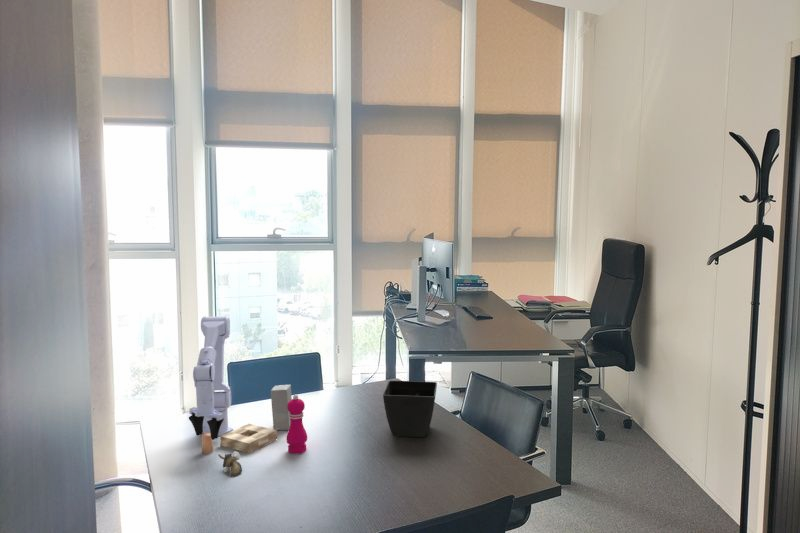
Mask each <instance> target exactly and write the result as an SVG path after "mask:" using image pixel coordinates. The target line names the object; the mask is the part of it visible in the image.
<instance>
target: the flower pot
mask: <svg viewBox="0 0 800 533" xmlns="http://www.w3.org/2000/svg"><path fill="white" fill-rule="evenodd" d="M437 386H438V383H437V382H436V381H420V380H418V381H415V380H413V381H411V380H389V381H388V382H387V384H386V387H385V389H384V391H383V394H382V398H383V404H384V410H385V416H386V420H387V424H388V427H389V430H390V433H391V435H392V436H393V437H404V438H407V437H409V438H427V436H428V433H429V430H430V427H431V423H432V418H433V414H434V408H435V402H436V401H435V400H436V394H437Z"/></svg>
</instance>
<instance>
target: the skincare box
mask: <svg viewBox="0 0 800 533" xmlns="http://www.w3.org/2000/svg"><path fill="white" fill-rule="evenodd" d="M292 399H293V396H292V385H291V384H277V385H274V386H273V387H272V388H271V390H270V400H271V401H270V402H271V412H272V426H273V430H277V431H279V430H280V431H289V428H290V422H291V421H290V418H289V413H290V412H289V411H288V409H287V405H288V402H289V401H290V400H292Z"/></svg>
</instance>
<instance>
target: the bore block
mask: <svg viewBox="0 0 800 533" xmlns="http://www.w3.org/2000/svg"><path fill="white" fill-rule="evenodd" d="M219 437H220V438H219V439H220V446H221V447H225V448H229V449H232V450H235V451H240V452H244V453H246V454H251V453H253V452H255V451H257V450H259V449H261V448H262V447H265V446H267V445H269V444H271V443H272V442H273V443H274V442H275V441H277V440H278V430H274V428H273V429H272V428H269V427H264V426H260V425H256V424H251V423H247V424H245V425H242V426H240V427H238V428H235V429H233V430H232V431H230V432H227V433H225V434H223V435H220V436H219ZM276 439H277V440H276ZM274 440H275V441H274ZM270 442H271V443H270Z"/></svg>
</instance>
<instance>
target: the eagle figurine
mask: <svg viewBox="0 0 800 533" xmlns="http://www.w3.org/2000/svg"><path fill="white" fill-rule="evenodd" d="M240 456H241V455H240V453H239V452H238V451H237V450H235V451H233V453H228V454H226V453H225V454H224V456H222V455H221V454H218V457H219V458H220V459H222V460H223V462H222V463H223V464H222V468H223V469H224V471H223V473H226V472H227V471H228V469H230V472H229V476H228V477H230V478H236V477H238V476H240V475H241V474H242V473H243V469H242V465H241V463H240V462H239V460H240V458H241V457H240Z"/></svg>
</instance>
